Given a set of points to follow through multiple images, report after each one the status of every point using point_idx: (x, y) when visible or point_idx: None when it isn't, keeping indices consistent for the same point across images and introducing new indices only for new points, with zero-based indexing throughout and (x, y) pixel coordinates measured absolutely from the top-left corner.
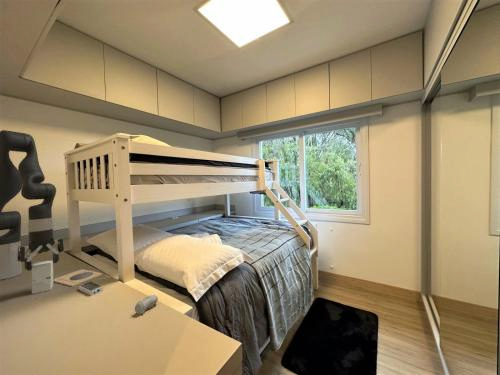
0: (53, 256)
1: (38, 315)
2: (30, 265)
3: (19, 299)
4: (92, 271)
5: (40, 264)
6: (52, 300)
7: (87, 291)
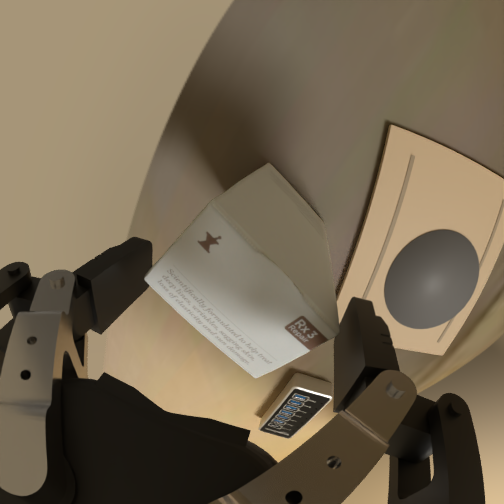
0: (352, 362)
1: (155, 367)
2: (119, 305)
3: (183, 197)
4: (483, 286)
5: (196, 326)
6: (213, 345)
7: (266, 415)
